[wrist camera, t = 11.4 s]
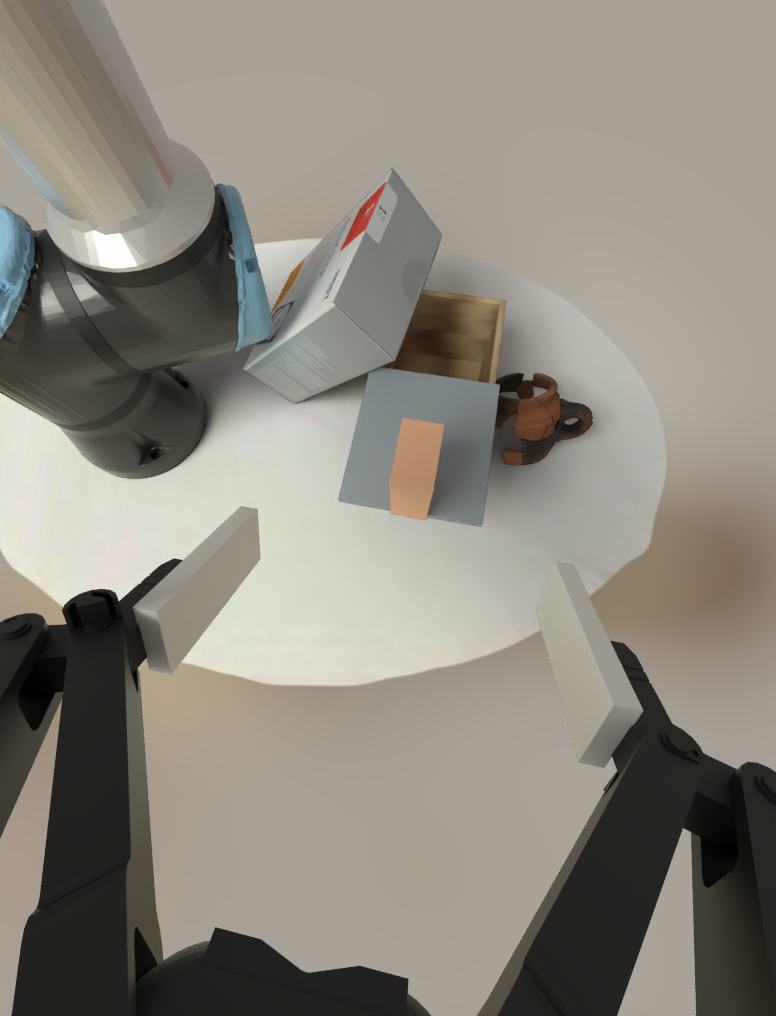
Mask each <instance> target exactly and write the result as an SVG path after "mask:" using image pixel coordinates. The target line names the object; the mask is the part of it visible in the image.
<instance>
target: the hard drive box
mask: <svg viewBox="0 0 776 1016" xmlns="http://www.w3.org/2000/svg"><path fill="white" fill-rule="evenodd" d="M441 237H442V235H441V233H440V231H439V230H438V229H437V227H436V226H435V224H434V223H433V222H432V220H431V219H430V217H429V216H428V215H427V213H426V212H425V211H424V209H423V208H422V207H421V205H420V204H419V202H418V201H417V200H416V198H415V197H414V196H413V194H412V193H411V191H410V190H409V189H408V188H407V186H406V185H405V184H404V182H403V181H402V179H401V178H400V176H399V175H398V174H397V173H396V171H395V170H394V169H393V168H391V170H390V171H389V173H388V174H387V175H386V176H385V177H384V178H383V179H382V180H381V181H380V182H379V183H378V184H377V185H376V186H375V187H374V188H373V189H372V190H371V191H370V192H369V193H368V194H367V195H366V196H365V197H364V198H363V199H362V201H360V203H359V204H358V205H357V206H356V207H355V208H354V209H353V210H352V211H351V212H350V213H349V214H348V215H347V216H346V217H345V218H344V219H343V220H342V221H341V222H340V223H339V224H338V225H337V226H336V227H335V228H334V229H333V230H332V231H331V232H330V233H329V234H328V235H327V236H326V237H325V238H324V239H323V240H322V241H321V242H320V243H319V244H318V245H317V246H316V247H315V248H314V249H313V250H312V251H311V253H310V254H309V255H308V256H307V257H306V258H305V259H304V260H303V261H302V262H301V263H300V264H299V265H298V266H297V267H296V268H295V269H294V270H293V271H292V272H291V274H290V276H289V278H288V280H287V282H286V284H285V286H284V288H283V289H282V291H281V293H280V295H279V297H278V299H277V302H276V304H275V306H274V308H273V309H272V312H271V318H272V329H271V332H270V334H269V336H268V337H267V338H265V339H264V340H262V341H260V342H257V343H255V345H254V347H253V349H252V351H251V353H250V355H249V357H248V359H247V361H246V363H245V365H244V367H243V369H244V370H245V371H246V372H248V373H249V374H250V375H252V376H253V377H255V378H256V379H258V380H259V381H261V382H262V383H264V384H265V385H266V386H268V387H269V388H271V389H272V390H274V391H275V392H277V393H278V394H280V395H281V396H283V397H284V398H286V399H287V400H289V401H290V402H292V403H293V404H295V403H297V402H300V401H302V400H305V399H307V398H309V397H311V396H314V395H316V394H318V393H321V392H323V391H325V390H327V389H330V388H332V387H335V386H337V385H339V384H341V383H344V382H346V381H348V380H351V379H353V378H355V377H358V376H360V375H362V374H364V373H367V372H369V371H371V370H374V369H376V368H378V367H380V366H383V365H385V364H387V363H390V362H392V361H394V360H396V358H397V356H398V354H399V351H400V348H401V346H402V343H403V340H404V338H405V335H406V332H407V330H408V327H409V324H410V321H411V319H412V316H413V313H414V311H415V308H416V305H417V303H418V300H419V297H420V295H421V292H422V289H423V287H424V284H425V282H426V279H427V276H428V274H429V271H430V268H431V266H432V263H433V260H434V258H435V255H436V252H437V249H438V246H439V243H440V241H441Z"/></svg>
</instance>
